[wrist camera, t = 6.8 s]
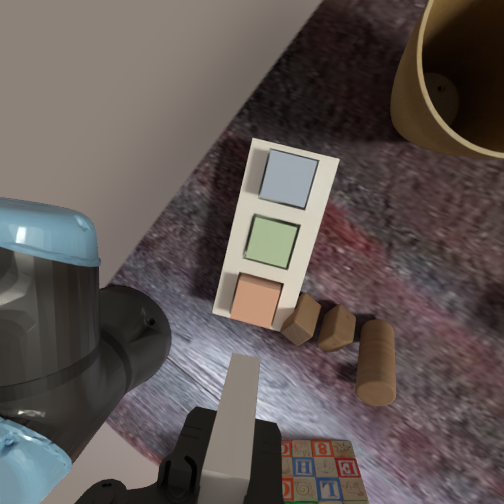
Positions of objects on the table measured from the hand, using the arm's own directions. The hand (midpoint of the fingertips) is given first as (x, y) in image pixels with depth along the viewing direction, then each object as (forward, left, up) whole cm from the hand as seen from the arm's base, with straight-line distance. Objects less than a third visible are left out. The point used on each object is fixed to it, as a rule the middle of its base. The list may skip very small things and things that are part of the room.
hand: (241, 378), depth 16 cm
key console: (0, +4, -25) cm, 25 cm away
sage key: (0, +4, -24) cm, 24 cm away
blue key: (0, +11, -23) cm, 25 cm away
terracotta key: (0, -4, -23) cm, 23 cm away
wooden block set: (+14, -7, -25) cm, 30 cm away
